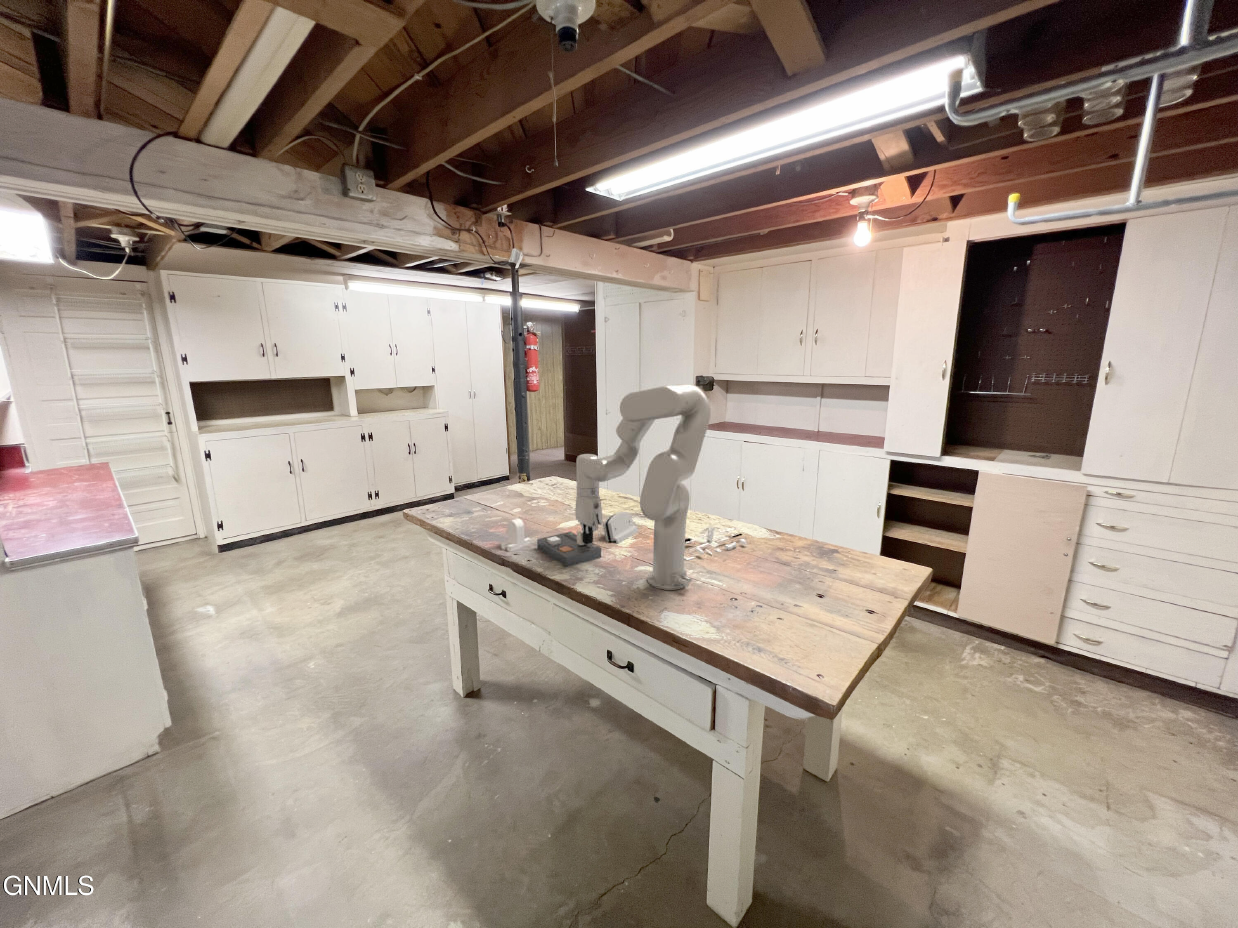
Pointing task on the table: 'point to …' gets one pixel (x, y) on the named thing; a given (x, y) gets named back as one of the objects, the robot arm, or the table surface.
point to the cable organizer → (515, 536)
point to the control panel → (572, 557)
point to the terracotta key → (565, 549)
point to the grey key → (553, 540)
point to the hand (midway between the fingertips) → (587, 542)
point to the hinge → (619, 527)
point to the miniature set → (710, 538)
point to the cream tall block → (580, 537)
